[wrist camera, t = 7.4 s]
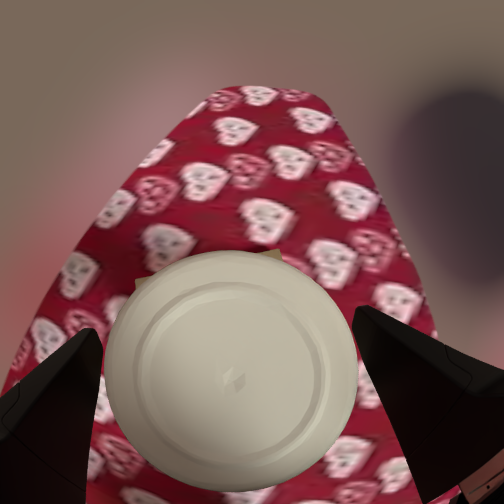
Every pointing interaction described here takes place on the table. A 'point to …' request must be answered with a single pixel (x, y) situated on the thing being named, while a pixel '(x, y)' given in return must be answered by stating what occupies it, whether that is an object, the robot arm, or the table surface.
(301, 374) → the sprinkles bottle
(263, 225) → the table surface
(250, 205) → the table surface
